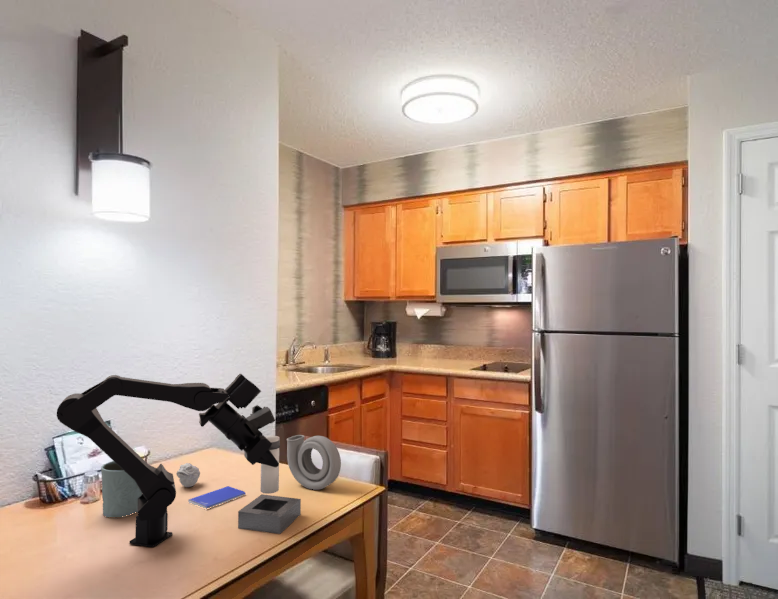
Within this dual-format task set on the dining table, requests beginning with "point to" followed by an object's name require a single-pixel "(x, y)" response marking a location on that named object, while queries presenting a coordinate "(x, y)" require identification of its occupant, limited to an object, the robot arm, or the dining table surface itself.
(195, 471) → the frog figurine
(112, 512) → the grey green pot
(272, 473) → the white rounded cylinder
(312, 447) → the turbocharger housing
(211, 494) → the hard drive
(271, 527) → the frame
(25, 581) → the dining table surface
